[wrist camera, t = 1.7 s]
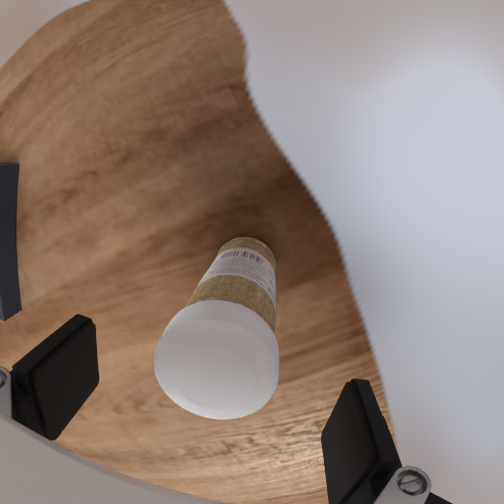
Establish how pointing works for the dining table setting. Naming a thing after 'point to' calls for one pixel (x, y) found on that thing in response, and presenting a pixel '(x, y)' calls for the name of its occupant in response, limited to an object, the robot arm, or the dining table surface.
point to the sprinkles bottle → (224, 337)
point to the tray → (8, 242)
